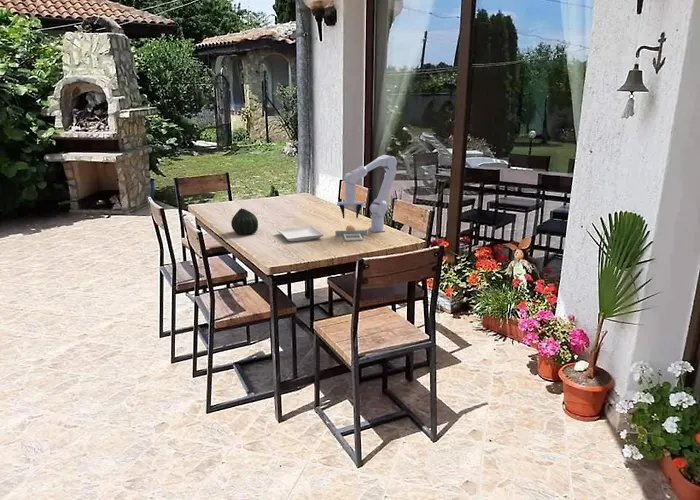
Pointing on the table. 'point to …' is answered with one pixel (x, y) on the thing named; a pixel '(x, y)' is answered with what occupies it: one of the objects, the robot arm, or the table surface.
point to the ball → (350, 228)
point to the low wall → (351, 232)
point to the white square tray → (352, 237)
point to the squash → (244, 222)
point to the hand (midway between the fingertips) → (350, 217)
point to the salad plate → (300, 233)
